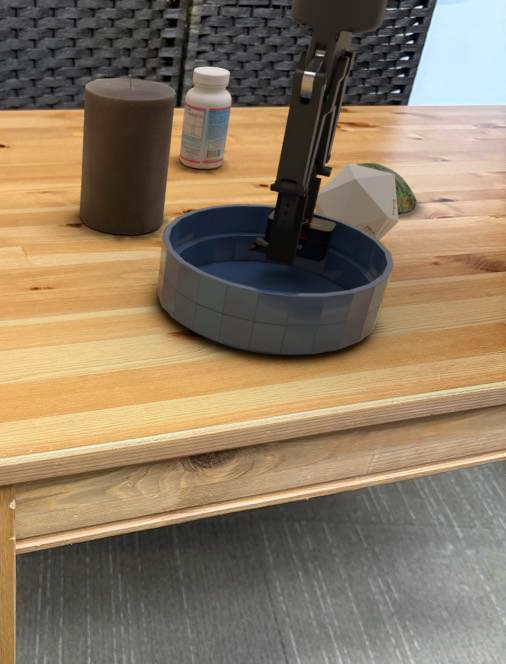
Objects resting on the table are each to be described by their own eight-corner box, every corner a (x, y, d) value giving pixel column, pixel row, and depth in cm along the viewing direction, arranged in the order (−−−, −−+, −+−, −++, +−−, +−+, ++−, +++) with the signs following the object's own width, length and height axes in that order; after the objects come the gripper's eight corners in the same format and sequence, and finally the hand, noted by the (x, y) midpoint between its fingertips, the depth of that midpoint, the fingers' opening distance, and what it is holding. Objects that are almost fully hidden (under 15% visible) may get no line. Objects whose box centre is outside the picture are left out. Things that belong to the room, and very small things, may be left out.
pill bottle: (220, 157, 114) (233, 66, 106) (224, 171, 109) (238, 77, 102) (177, 154, 114) (187, 63, 106) (179, 168, 109) (189, 74, 102)
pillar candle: (131, 243, 89) (143, 91, 79) (62, 219, 93) (65, 72, 83) (179, 219, 95) (196, 76, 85) (112, 198, 99) (121, 58, 89)
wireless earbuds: (261, 239, 84) (267, 207, 82) (329, 255, 82) (337, 222, 79) (247, 255, 81) (253, 222, 78) (317, 272, 79) (325, 238, 76)
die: (333, 271, 88) (412, 201, 83) (284, 208, 89) (359, 135, 84) (353, 274, 95) (427, 210, 90) (308, 216, 97) (378, 149, 91)
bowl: (391, 289, 84) (409, 231, 80) (350, 383, 69) (369, 318, 65) (198, 245, 90) (206, 189, 86) (122, 323, 75) (127, 260, 71)
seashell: (391, 182, 96) (327, 159, 102) (380, 218, 99) (318, 193, 105) (440, 177, 101) (377, 154, 107) (428, 211, 104) (367, 187, 110)
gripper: (324, -47, 73) (273, 216, 88) (272, -26, 60) (223, 275, 76) (409, -37, 71) (341, 230, 86) (373, -13, 58) (301, 293, 74)
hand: (286, 251), depth 81 cm, fingers closed on wireless earbuds, 4 cm apart
